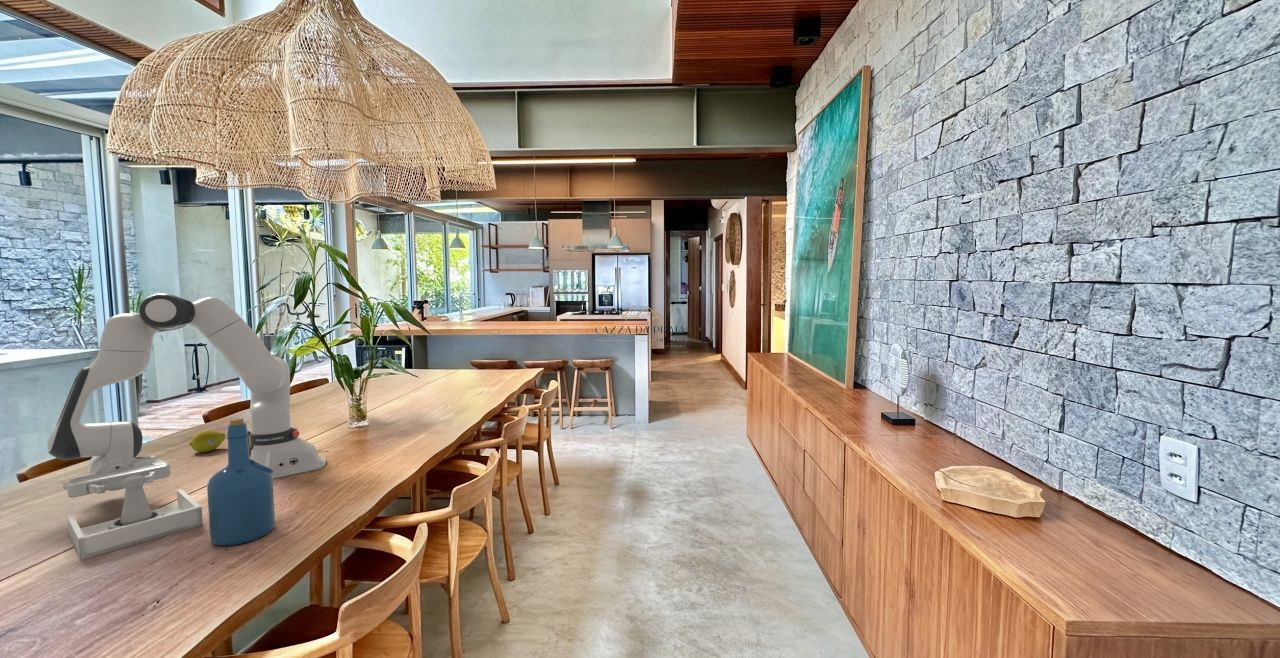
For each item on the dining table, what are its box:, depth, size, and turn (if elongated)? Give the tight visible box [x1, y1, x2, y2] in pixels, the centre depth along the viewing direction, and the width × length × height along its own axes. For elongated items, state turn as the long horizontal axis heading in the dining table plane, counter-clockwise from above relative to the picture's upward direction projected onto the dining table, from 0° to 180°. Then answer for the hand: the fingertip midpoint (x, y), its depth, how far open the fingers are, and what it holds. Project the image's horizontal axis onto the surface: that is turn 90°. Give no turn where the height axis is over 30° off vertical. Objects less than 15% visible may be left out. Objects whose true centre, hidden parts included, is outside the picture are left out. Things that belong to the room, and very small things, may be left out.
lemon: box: [188, 429, 226, 453], centre depth 196 cm, size 11×8×8 cm
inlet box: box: [66, 488, 204, 561], centre depth 132 cm, size 20×22×5 cm
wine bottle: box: [206, 417, 276, 547], centre depth 129 cm, size 14×13×30 cm
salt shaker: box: [120, 476, 152, 526], centre depth 132 cm, size 6×6×13 cm
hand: (126, 484), depth 138 cm, fingers open, 8 cm apart
